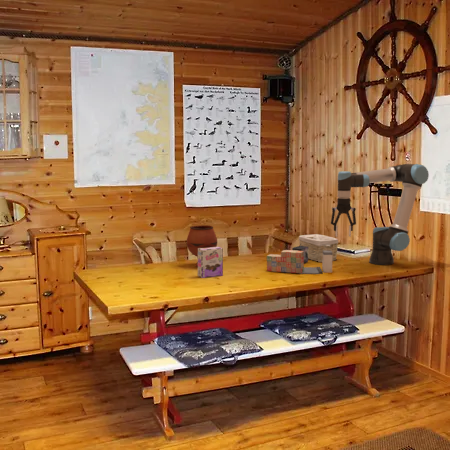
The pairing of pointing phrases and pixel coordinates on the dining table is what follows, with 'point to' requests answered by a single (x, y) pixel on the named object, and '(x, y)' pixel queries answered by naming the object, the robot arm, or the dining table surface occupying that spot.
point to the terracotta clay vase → (201, 239)
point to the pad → (312, 270)
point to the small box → (302, 248)
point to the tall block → (327, 261)
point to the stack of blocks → (286, 261)
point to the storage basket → (319, 246)
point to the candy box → (210, 262)
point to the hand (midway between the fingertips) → (343, 236)
